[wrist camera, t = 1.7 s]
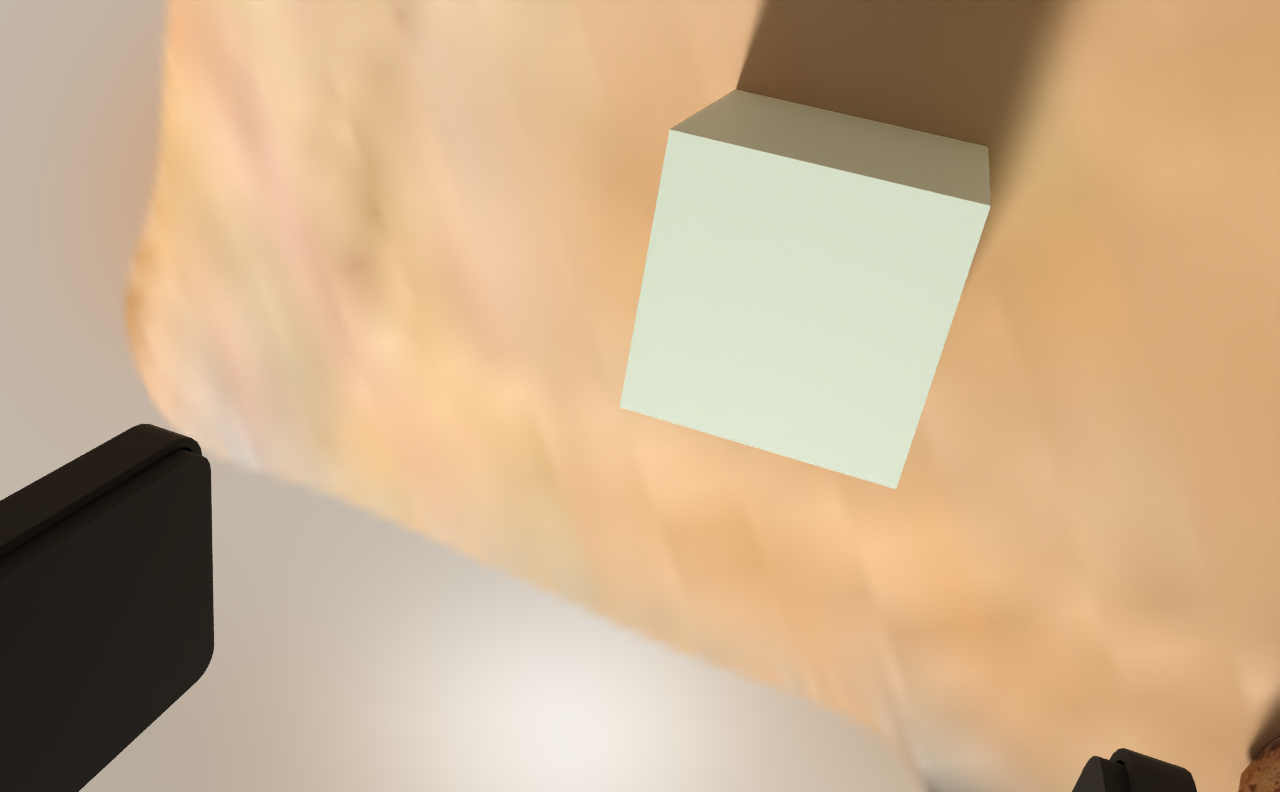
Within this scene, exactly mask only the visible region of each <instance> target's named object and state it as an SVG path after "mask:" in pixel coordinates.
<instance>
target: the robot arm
mask: <svg viewBox="0 0 1280 792" xmlns="http://www.w3.org/2000/svg"><path fill="white" fill-rule="evenodd" d="M212 562H213V561H212V506H211V468H210V463H209V461H208V460H207V458H205V457H203V456H202V452H201V448H200V446H199V444H198V443H197V441H195V440H193V439H192V438H190V437H187V436H184V435H181V434H178V433H175V432H172V431H169V430H166V429H163V428H159V427H156V426H154V425H151V424H140V425H137V426H135V427H132V428H130V429H128V430H127V431H125V432H123V433H121V434H120V435H118V436H116V437H114V438H112V439H111V440H109V441H107V442H105V443H104V444H102V445H100V446H98V447H96V448H95V449H93V450H91V451H89V452H87V453H85V454H84V455H82V456H80V457H78V458H76V459H75V460H73V461H71V462H69V463H67V464H66V465H64V466H62V467H60V468H59V469H57V470H55V471H53V472H51V473H50V474H48V475H46V476H44V477H42V478H41V479H39V480H37V481H35V482H34V483H32V484H30V485H28V486H26V487H25V488H23V489H21V490H19V491H17V492H15V493H14V494H12V495H10V496H8V497H6V498H5V499H3V500H1V501H0V792H79V791H80V790H81V789H82V788H83V787H84V786H85V785H86V784H87V783H88V782H89V781H90V780H91V779H93V778H94V777H95V776H96V775H97V774H98V773H99V772H100V771H101V770H102V769H103V768H104V767H105V766H106V765H108V764H109V763H110V762H111V761H112V760H113V759H114V758H115V757H116V756H117V755H118V754H119V753H120V752H122V751H123V750H124V749H125V748H126V747H127V746H128V745H129V744H130V743H131V742H132V741H133V740H134V739H135V738H137V737H138V736H139V735H140V734H141V733H142V732H143V731H144V730H145V729H146V728H147V727H148V726H150V725H151V724H152V723H153V722H154V721H155V720H156V719H157V718H158V717H159V716H160V715H161V714H162V713H163V712H165V711H166V710H167V709H168V708H169V707H170V706H171V705H172V704H173V703H174V702H175V701H176V700H177V699H179V697H181V696H182V695H183V694H184V693H185V692H186V691H187V690H188V689H189V688H190V687H191V686H192V685H193V684H194V683H196V682H197V681H198V680H199V678H200V677H201V676H202V675H203V674H204V672H205V671H206V669H207V667H208V665H209V663H210V661H211V658H212V654H213V650H214V617H213V565H212V564H213V563H212ZM1072 792H1197V790H1196V786H1195V782H1194V780H1193V777H1192V775H1191V773H1190V772H1189V771H1188V770H1186V769H1185V768H1182V767H1179V766H1176V765H1173V764H1170V763H1167V762H1164V761H1161V760H1158V759H1155V758H1152V757H1149V756H1146V755H1143V754H1140V753H1137V752H1134V751H1131V750H1128V749H1125V748H1122V749H1118V750H1117V751H1116V752H1115V753H1113V755H1112V756H1111V758H1110V760H1107V759H1104V758H1101V757H1098V756H1093V757H1092V758H1090V759H1089V761H1088V762H1087V764H1086V765H1085V767H1084V769H1083V771H1082V773H1081V775H1080V777H1079V779H1078V781H1077V783H1076V785H1075V787H1074V789H1073V791H1072Z"/></svg>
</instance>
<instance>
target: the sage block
mask: <svg viewBox="0 0 1280 792" xmlns="http://www.w3.org/2000/svg"><path fill="white" fill-rule="evenodd" d="M990 207H991V199H990V176H989V154H988V146H983V145H979V144H974V143H970V142H966V141H961V140H957V139H952V138H948V137H944V136H939V135H935V134H930V133H926V132H922V131H917V130H913V129H908V128H904V127H900V126H895V125H891V124H886V123H882V122H878V121H873V120H869V119H864V118H860V117H856V116H851V115H847V114H842V113H838V112H834V111H829V110H825V109H820V108H816V107H812V106H807V105H803V104H798V103H794V102H790V101H785V100H781V99H776V98H772V97H768V96H763V95H759V94H754V93H750V92H746V91H741V90H737V89H735V90H734V91H732V92H730V93H729V94H727V95H726V96H724V97H722V98H721V99H719V100H717V101H716V102H714V103H712V104H711V105H709V106H707V107H706V108H704V109H702V110H701V111H699V112H698V113H696V114H694V115H693V116H691V117H689V118H688V119H686V120H684V121H683V122H681V123H679V124H678V125H676V126H674V127H673V128H671V129H670V131H669V136H668V142H667V147H666V153H665V158H664V164H663V170H662V175H661V181H660V186H659V192H658V197H657V203H656V209H655V214H654V220H653V225H652V231H651V236H650V242H649V248H648V253H647V259H646V264H645V270H644V275H643V281H642V286H641V292H640V298H639V303H638V309H637V314H636V320H635V325H634V331H633V337H632V342H631V348H630V353H629V359H628V364H627V370H626V376H625V381H624V387H623V392H622V398H621V403H620V407H621V408H624V409H627V410H631V411H634V412H638V413H641V414H644V415H648V416H651V417H654V418H658V419H661V420H665V421H668V422H671V423H675V424H678V425H681V426H685V427H688V428H692V429H695V430H698V431H702V432H705V433H708V434H712V435H715V436H718V437H722V438H725V439H729V440H732V441H735V442H739V443H742V444H745V445H749V446H752V447H756V448H759V449H762V450H766V451H769V452H772V453H776V454H779V455H782V456H786V457H789V458H793V459H796V460H799V461H803V462H806V463H809V464H813V465H816V466H820V467H823V468H826V469H830V470H833V471H836V472H840V473H843V474H847V475H850V476H853V477H857V478H860V479H863V480H867V481H870V482H873V483H877V484H880V485H884V486H887V487H890V488H894V489H896V488H897V485H898V482H899V479H900V476H901V473H902V470H903V467H904V464H905V461H906V458H907V455H908V452H909V449H910V446H911V443H912V440H913V437H914V434H915V431H916V428H917V425H918V422H919V419H920V416H921V413H922V410H923V407H924V404H925V401H926V398H927V395H928V392H929V389H930V386H931V383H932V380H933V377H934V374H935V371H936V368H937V365H938V362H939V359H940V356H941V353H942V350H943V347H944V344H945V341H946V338H947V335H948V332H949V329H950V326H951V323H952V320H953V317H954V314H955V311H956V308H957V305H958V302H959V299H960V296H961V293H962V291H963V288H964V285H965V282H966V279H967V276H968V273H969V270H970V267H971V264H972V261H973V258H974V255H975V252H976V249H977V246H978V243H979V240H980V237H981V234H982V231H983V228H984V225H985V222H986V219H987V216H988V213H989V210H990Z"/></svg>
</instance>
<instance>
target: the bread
mask: <svg viewBox="0 0 1280 792" xmlns="http://www.w3.org/2000/svg"><path fill="white" fill-rule="evenodd" d="M1238 792H1280V737H1278V738H1277V739H1275V740H1274V741H1272V742H1271V743H1270V744H1269V745H1268V746H1267V747H1266V748H1265V749H1263V750H1262V751H1261V752H1260V753H1259V754H1258V755H1257V756H1256V757H1255V759H1254V760H1253V761H1252V762H1251V763H1250V765H1249V766H1248V767H1247V768H1246V769H1245V771H1244V772H1243V773H1242V774H1241V779H1240V785H1239V790H1238Z"/></svg>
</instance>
